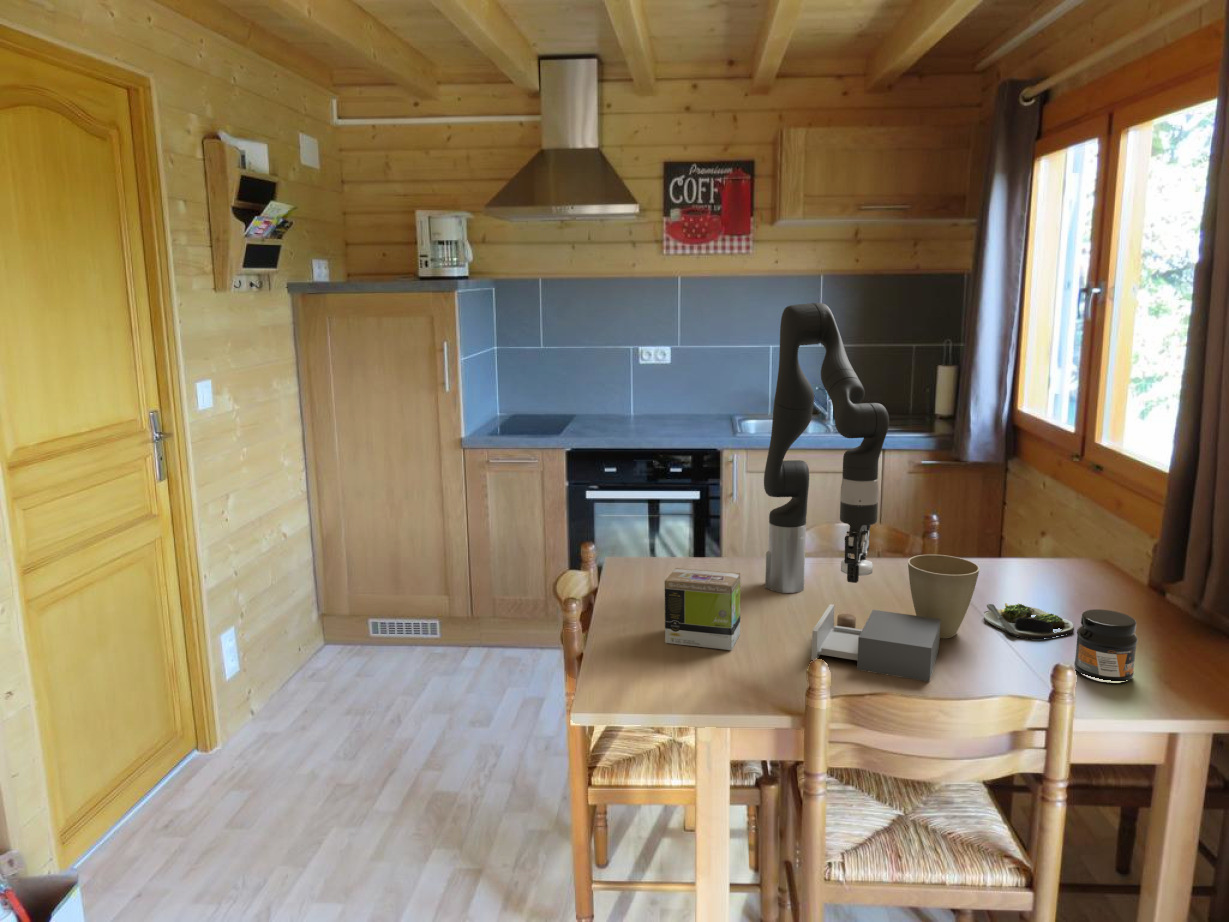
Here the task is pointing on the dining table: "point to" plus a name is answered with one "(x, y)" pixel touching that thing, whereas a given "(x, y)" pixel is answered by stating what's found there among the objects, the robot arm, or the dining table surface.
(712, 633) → the tea box
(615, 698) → the dining table surface
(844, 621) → the pedestal
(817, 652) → the tray
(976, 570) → the plant pot
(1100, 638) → the supplement container
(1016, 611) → the salad plate
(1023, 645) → the dining table surface
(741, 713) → the dining table surface
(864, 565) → the disc
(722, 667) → the dining table surface
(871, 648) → the block
